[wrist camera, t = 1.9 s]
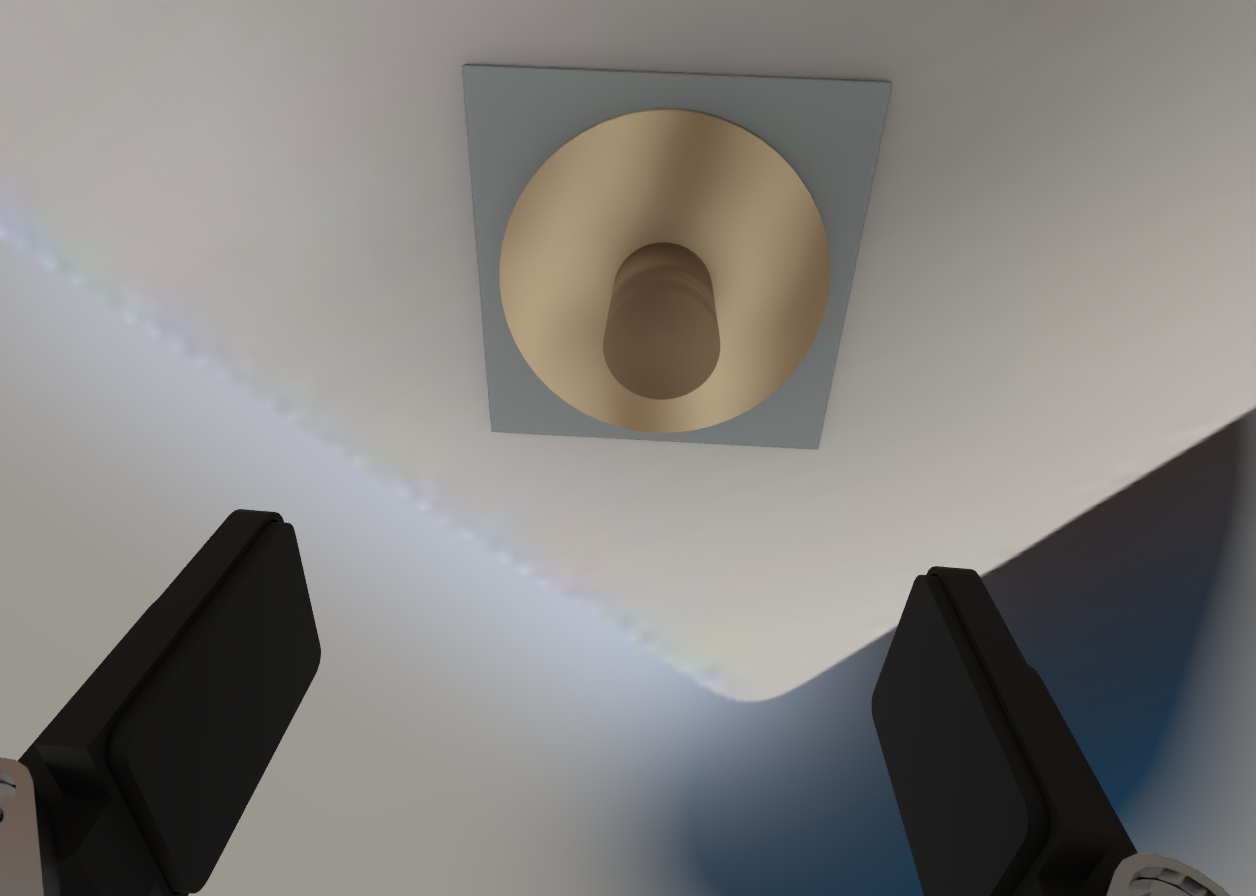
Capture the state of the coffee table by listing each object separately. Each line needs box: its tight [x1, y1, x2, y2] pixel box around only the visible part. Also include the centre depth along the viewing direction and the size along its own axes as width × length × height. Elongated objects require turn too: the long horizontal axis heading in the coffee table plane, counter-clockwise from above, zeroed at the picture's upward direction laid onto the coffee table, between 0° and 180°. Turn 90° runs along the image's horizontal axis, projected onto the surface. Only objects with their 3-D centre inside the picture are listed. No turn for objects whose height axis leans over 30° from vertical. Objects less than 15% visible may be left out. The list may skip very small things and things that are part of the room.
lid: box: [499, 108, 830, 433], centre depth 25 cm, size 12×12×6 cm
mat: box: [462, 64, 892, 450], centre depth 28 cm, size 14×14×1 cm
